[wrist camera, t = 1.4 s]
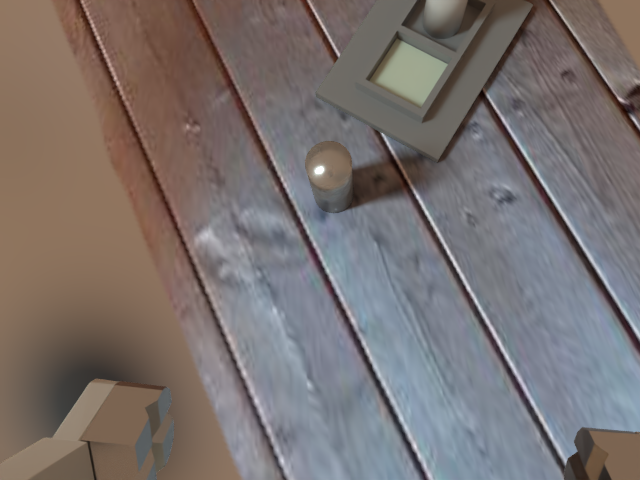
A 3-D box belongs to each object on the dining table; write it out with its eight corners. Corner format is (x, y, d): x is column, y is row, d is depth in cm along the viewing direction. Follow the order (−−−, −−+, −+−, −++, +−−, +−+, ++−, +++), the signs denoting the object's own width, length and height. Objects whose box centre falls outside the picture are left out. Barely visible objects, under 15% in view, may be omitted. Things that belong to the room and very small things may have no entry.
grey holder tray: (530, 9, 65) (564, -60, 54) (437, 162, 62) (452, 121, 51) (411, -47, 68) (420, -124, 57) (316, 96, 65) (306, 44, 54)
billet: (360, 187, 62) (360, 155, 52) (340, 220, 61) (335, 193, 52) (327, 168, 63) (321, 133, 53) (306, 200, 62) (296, 170, 52)
